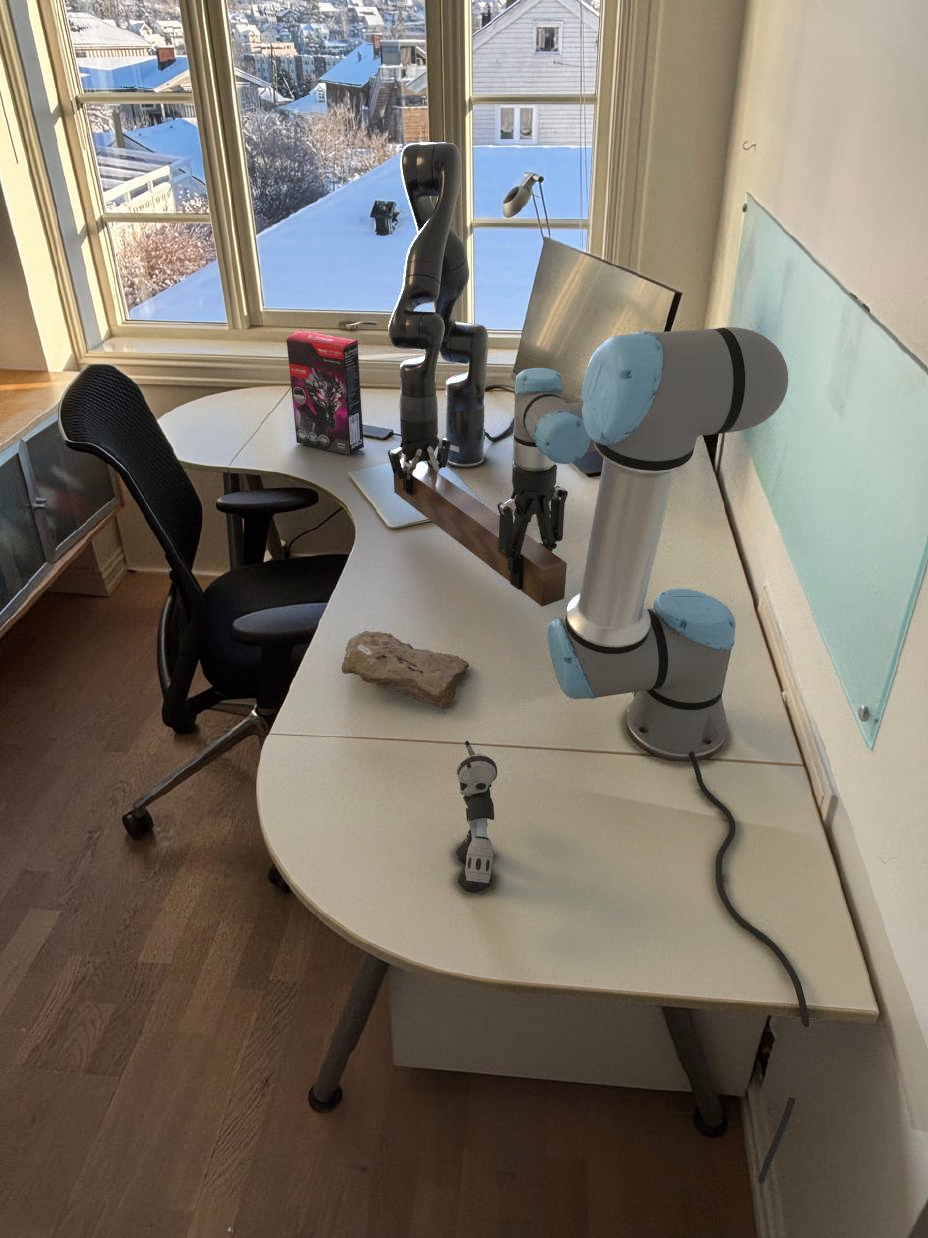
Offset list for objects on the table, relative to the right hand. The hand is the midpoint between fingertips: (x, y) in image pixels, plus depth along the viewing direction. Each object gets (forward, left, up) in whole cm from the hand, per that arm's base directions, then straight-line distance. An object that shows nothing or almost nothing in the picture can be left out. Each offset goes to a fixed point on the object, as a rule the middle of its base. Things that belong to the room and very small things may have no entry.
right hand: (529, 581), depth 167 cm
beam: (+13, +14, -1) cm, 19 cm away
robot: (-62, -6, -6) cm, 62 cm away
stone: (-27, +16, -6) cm, 32 cm away
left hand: (+26, +29, +2) cm, 39 cm away
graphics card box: (+60, +64, -6) cm, 88 cm away
